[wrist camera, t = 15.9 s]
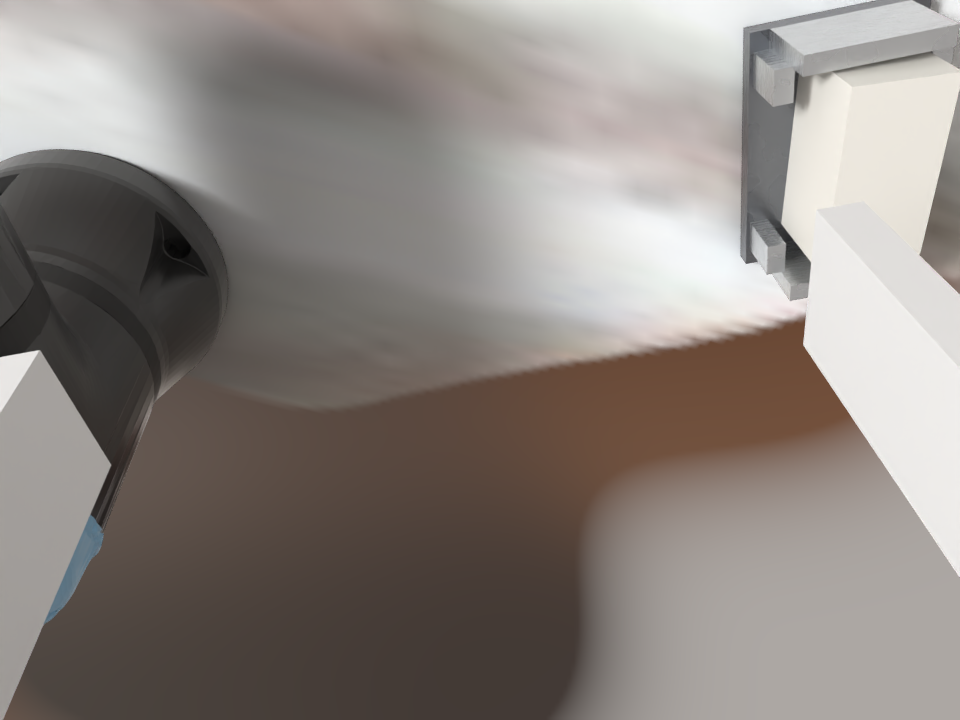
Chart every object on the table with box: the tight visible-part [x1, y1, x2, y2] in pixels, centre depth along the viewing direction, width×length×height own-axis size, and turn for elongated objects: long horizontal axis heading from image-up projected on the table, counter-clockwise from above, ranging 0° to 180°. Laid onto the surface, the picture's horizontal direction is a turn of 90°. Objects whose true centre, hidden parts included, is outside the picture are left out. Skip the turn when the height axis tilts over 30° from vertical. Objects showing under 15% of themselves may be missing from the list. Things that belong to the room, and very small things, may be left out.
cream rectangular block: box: [781, 52, 960, 262], centre depth 42 cm, size 10×5×6 cm, turn 7°
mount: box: [741, 0, 960, 301], centre depth 43 cm, size 14×9×6 cm, turn 10°
